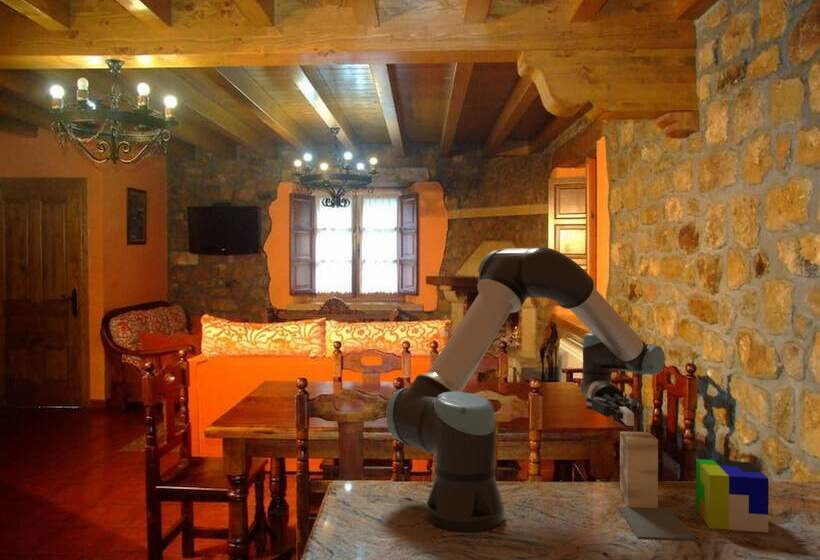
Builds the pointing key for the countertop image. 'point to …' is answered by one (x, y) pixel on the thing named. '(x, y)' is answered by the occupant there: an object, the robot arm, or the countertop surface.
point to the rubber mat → (655, 523)
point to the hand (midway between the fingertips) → (630, 419)
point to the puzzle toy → (732, 495)
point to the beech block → (639, 469)
